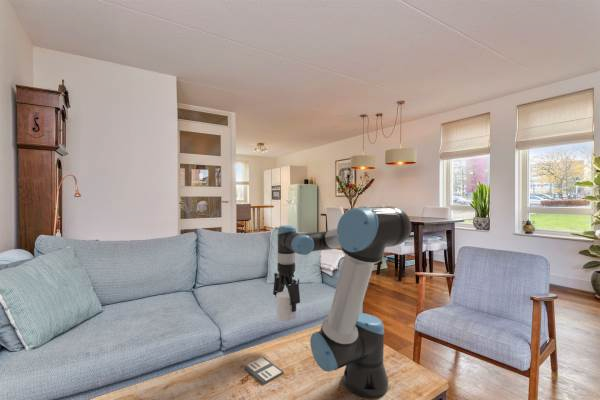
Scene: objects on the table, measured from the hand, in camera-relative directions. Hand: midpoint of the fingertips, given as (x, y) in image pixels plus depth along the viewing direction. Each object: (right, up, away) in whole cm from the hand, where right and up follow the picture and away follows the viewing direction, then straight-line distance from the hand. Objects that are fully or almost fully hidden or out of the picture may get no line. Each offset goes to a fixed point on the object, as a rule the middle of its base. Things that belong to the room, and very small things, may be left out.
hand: (285, 315), depth 121 cm
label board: (-7, -14, -16) cm, 23 cm away
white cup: (0, -1, 0) cm, 1 cm away
